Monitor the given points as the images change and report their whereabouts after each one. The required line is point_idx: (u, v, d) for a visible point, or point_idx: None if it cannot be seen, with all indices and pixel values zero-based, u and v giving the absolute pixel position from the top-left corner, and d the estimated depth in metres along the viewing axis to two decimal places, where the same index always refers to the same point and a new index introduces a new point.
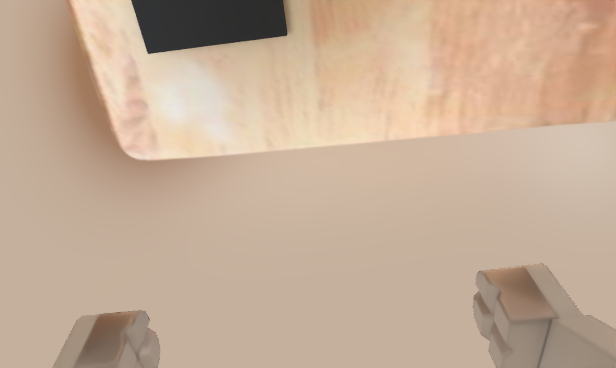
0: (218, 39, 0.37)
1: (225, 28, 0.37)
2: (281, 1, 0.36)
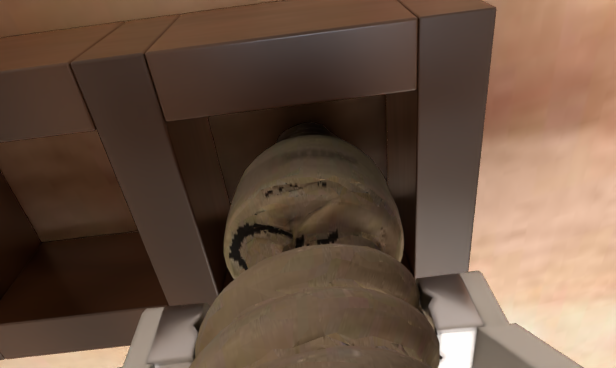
0: None
1: None
2: None
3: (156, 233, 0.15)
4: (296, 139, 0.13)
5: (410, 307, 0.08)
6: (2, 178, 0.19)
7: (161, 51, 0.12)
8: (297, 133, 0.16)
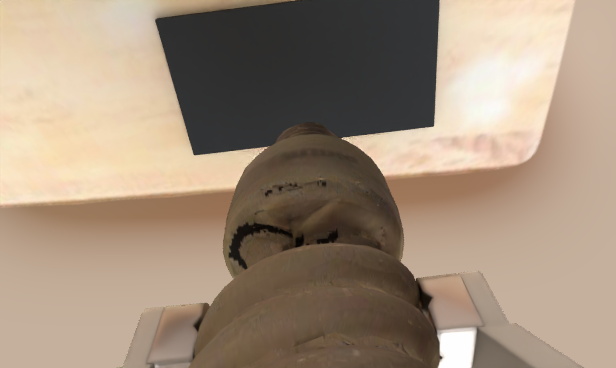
0: (432, 59, 0.37)
1: (422, 51, 0.36)
2: None
3: None
4: (296, 138, 0.13)
5: (410, 306, 0.08)
6: None
7: None
8: (297, 133, 0.16)
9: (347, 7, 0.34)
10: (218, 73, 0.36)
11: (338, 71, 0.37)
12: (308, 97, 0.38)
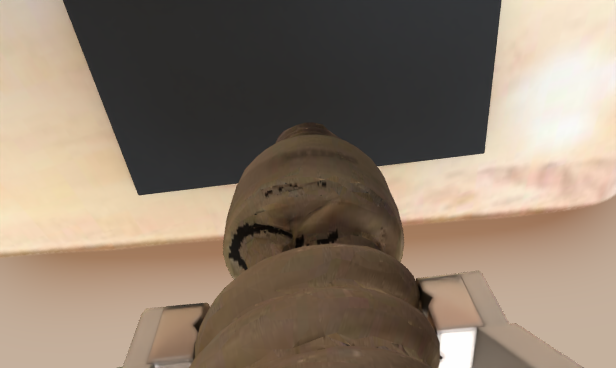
0: (488, 56, 0.24)
1: (474, 43, 0.24)
2: None
3: None
4: (296, 139, 0.13)
5: (410, 307, 0.08)
6: None
7: None
8: (297, 133, 0.16)
9: None
10: (166, 77, 0.24)
11: (347, 74, 0.25)
12: (302, 113, 0.26)
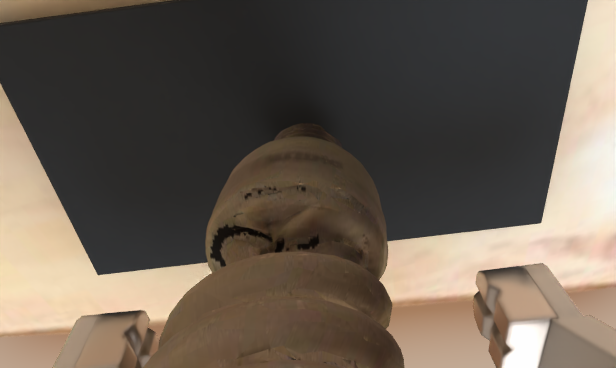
0: (557, 105, 0.18)
1: (539, 89, 0.18)
2: None
3: None
4: (283, 141, 0.13)
5: (369, 322, 0.08)
6: None
7: None
8: (292, 133, 0.16)
9: (391, 0, 0.16)
10: (126, 135, 0.18)
11: (367, 129, 0.18)
12: None
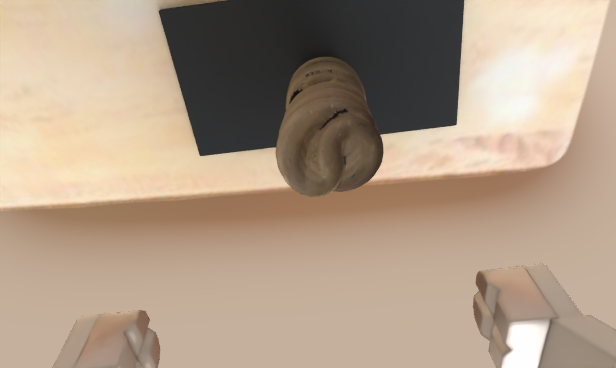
0: (456, 52, 0.34)
1: (445, 43, 0.34)
2: None
3: None
4: (318, 57, 0.29)
5: (360, 98, 0.24)
6: None
7: None
8: None
9: None
10: (226, 68, 0.34)
11: (354, 66, 0.34)
12: None
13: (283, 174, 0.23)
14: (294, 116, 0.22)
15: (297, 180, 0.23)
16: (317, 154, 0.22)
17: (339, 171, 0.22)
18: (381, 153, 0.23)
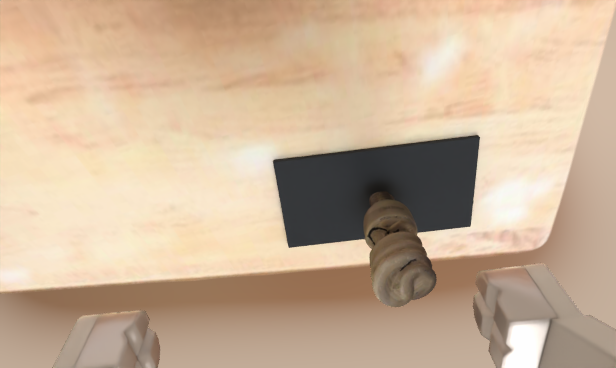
0: (471, 183, 0.50)
1: (464, 178, 0.49)
2: (454, 141, 0.47)
3: None
4: (385, 201, 0.45)
5: (420, 244, 0.40)
6: None
7: None
8: (379, 195, 0.48)
9: (412, 152, 0.47)
10: (314, 194, 0.50)
11: (402, 192, 0.50)
12: None
13: (376, 294, 0.39)
14: (385, 263, 0.38)
15: (385, 298, 0.39)
16: (399, 286, 0.37)
17: (412, 295, 0.38)
18: (435, 283, 0.38)
